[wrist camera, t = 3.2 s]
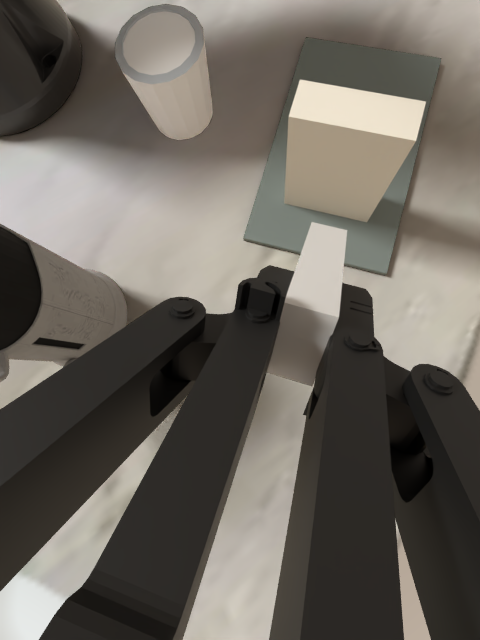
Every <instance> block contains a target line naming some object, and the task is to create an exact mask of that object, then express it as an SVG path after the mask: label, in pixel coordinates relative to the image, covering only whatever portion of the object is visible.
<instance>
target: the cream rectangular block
mask: <svg viewBox="0 0 480 640" xmlns="http://www.w3.org/2000/svg"><path fill="white" fill-rule="evenodd" d="M425 104H426V101H420V100H414V99H408V98H403V97H397V96H391V95H386V94H380V93H374V92H368V91H363V90H357V89H351V88H346V87H340V86H334V85H328V84H323V83H317V82H311V81H306V80H300V81H299V84H298V87H297V91H296V94H295V97H294V100H293V104H292V107H291V110H290V113H289V118H288V138H287V158H286V177H285V197H284V204H289V205H293V206H298V207H302V208H306V209H311V210H315V211H319V212H324V213H328V214H332V215H337V216H341V217H346V218H350V219H354V220H359V221H363V222H367V221H368V220H369V218H370V216H371V215H372V213H373V211H374V210H375V208H376V206H377V205H378V203H379V201H380V200H381V198H382V196H383V195H384V193H385V192H386V190H387V188H388V187H389V185H390V183H391V182H392V180H393V178H394V177H395V175H396V173H397V172H398V170H399V168H400V167H401V165H402V163H403V162H404V160H405V158H406V157H407V155H408V153H409V152H410V150H411V148H412V147H413V145H414V144H415V142H416V139H417V135H418V131H419V128H420V124H421V120H422V116H423V112H424V108H425Z"/></svg>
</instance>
